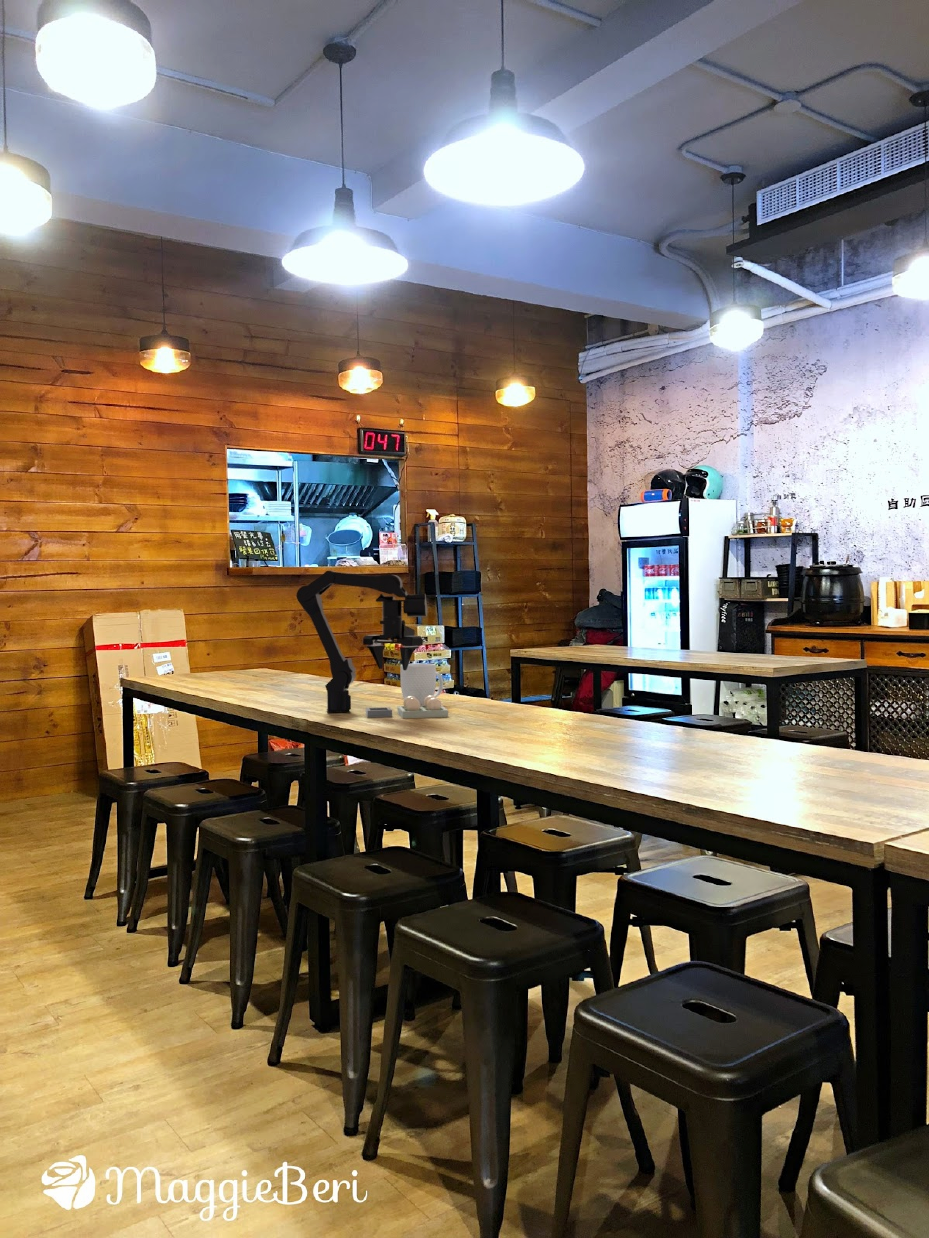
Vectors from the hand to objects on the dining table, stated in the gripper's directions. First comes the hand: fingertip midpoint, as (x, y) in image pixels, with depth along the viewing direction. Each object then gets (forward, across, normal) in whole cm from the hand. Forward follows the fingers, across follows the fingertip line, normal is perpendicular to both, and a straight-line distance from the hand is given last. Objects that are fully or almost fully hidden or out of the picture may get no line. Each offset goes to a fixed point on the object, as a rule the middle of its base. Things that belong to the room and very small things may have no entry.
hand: (392, 669), depth 282 cm
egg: (+9, -12, +5) cm, 16 cm away
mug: (+13, +1, -15) cm, 20 cm away
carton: (+12, -12, +1) cm, 17 cm away
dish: (+12, -2, +9) cm, 16 cm away
